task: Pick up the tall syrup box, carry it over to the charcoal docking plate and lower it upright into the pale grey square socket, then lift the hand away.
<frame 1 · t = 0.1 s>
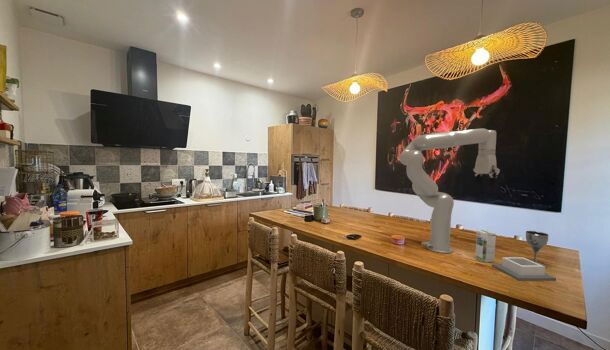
hand: (484, 184, 136), 37 cm above the counter, tool pointing down, fingers open, 9 cm apart
dock: (521, 272, 109), on the counter
syrup box: (484, 260, 123), on the counter
wine glass: (534, 264, 120), on the counter
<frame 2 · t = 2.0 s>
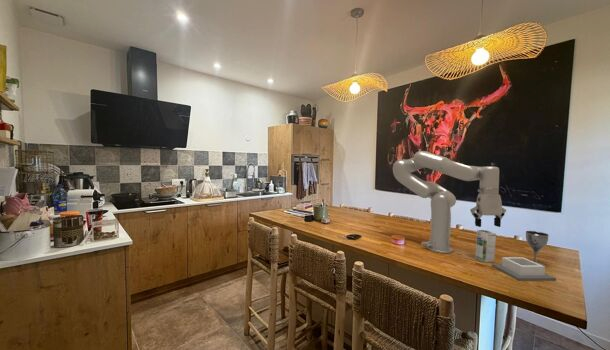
hand: (487, 226, 122), 17 cm above the counter, tool pointing down, fingers open, 9 cm apart
nothing on the counter moved.
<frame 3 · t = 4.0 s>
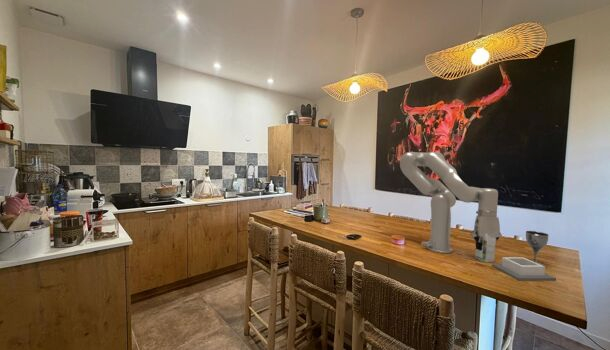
hand: (485, 249, 122), 6 cm above the counter, tool pointing down, fingers closed on syrup box, 5 cm apart
syrup box: (484, 260, 123), on the counter, touching gripper
everything else where it was.
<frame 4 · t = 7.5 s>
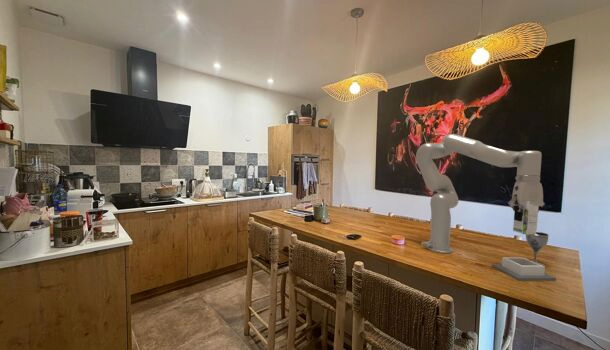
hand: (525, 220, 108), 24 cm above the counter, tool pointing down, fingers closed on syrup box, 5 cm apart
syrup box: (524, 233, 108), point 18 cm above the counter, touching gripper
everything else where it was.
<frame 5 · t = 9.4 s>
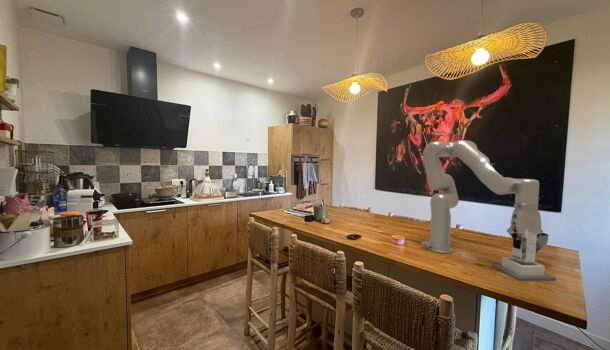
hand: (523, 247, 108), 11 cm above the counter, tool pointing down, fingers closed on syrup box, 5 cm apart
syrup box: (523, 260, 109), point 6 cm above the counter, touching gripper
everything else where it was.
when the fingers open (7 cm above the counter, at t = 11.2 s): syrup box stays where it is, resting on dock.
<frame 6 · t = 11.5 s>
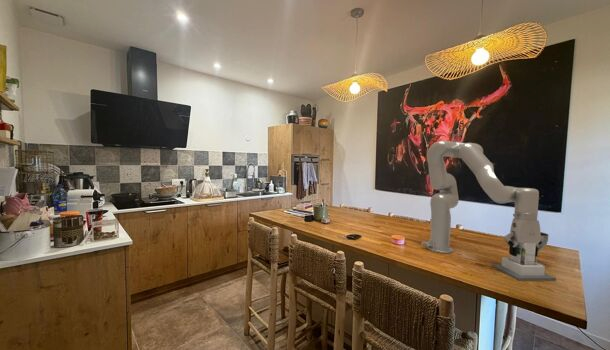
hand: (523, 255, 109), 8 cm above the counter, tool pointing down, fingers open, 8 cm apart
syrup box: (521, 270, 109), point 1 cm above the counter, touching dock
everything else where it was.
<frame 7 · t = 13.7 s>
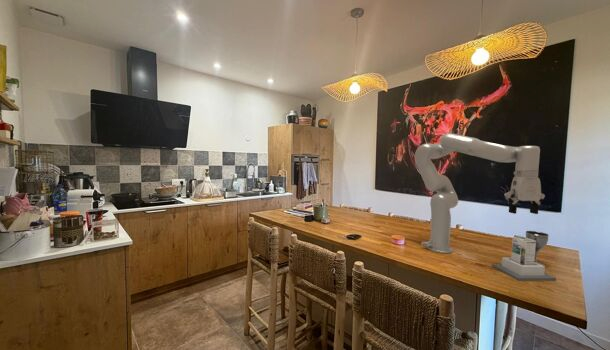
hand: (523, 213, 109), 26 cm above the counter, tool pointing down, fingers open, 9 cm apart
nothing on the counter moved.
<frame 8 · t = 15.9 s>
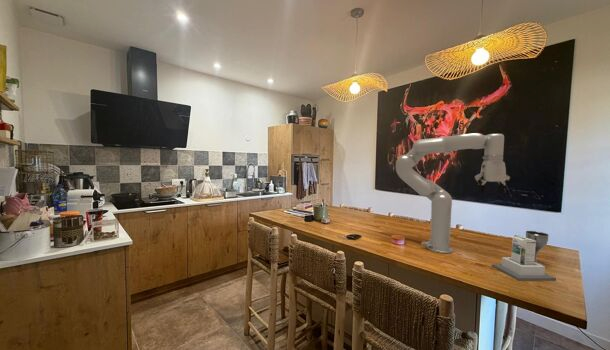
hand: (491, 192, 124), 33 cm above the counter, tool pointing down, fingers open, 9 cm apart
nothing on the counter moved.
at the end: syrup box 0.1 cm off-centre on the dock, point 0.8 cm above the dock's base; syrup box tilted 0°; the gripper is holding nothing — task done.
